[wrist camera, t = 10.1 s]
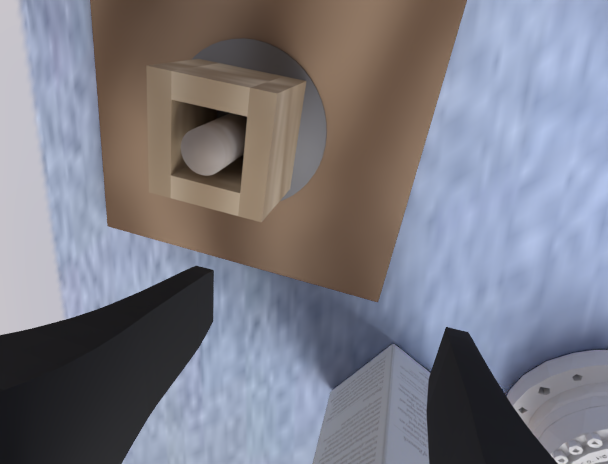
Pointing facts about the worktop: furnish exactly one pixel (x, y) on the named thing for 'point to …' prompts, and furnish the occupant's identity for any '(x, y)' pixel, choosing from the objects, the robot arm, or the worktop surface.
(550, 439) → the mechanical component
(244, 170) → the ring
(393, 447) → the skincare box
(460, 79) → the worktop surface
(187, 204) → the post board
